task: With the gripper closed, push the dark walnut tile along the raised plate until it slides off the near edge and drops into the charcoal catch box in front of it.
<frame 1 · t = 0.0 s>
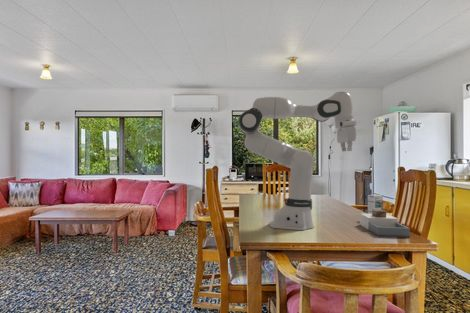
hand: (346, 151, 159), 39 cm above the table, tool pointing down, fingers open, 8 cm apart
walnut tile: (379, 216, 159), point 6 cm above the table, touching raised plate
syrup box: (374, 220, 179), on the table
raised plate: (378, 227, 160), on the table
catch box: (388, 233, 148), on the table
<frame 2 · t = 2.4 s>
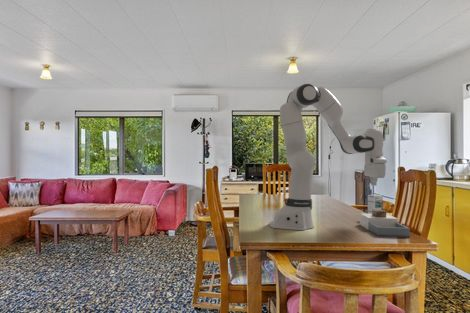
hand: (373, 185, 167), 21 cm above the table, tool pointing down, fingers closed
nothing on the table moved.
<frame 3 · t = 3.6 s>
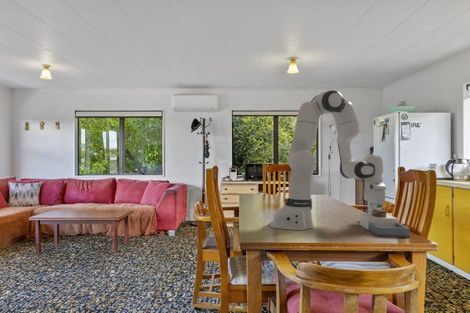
hand: (373, 210, 167), 7 cm above the table, tool pointing down, fingers closed
nothing on the table moved.
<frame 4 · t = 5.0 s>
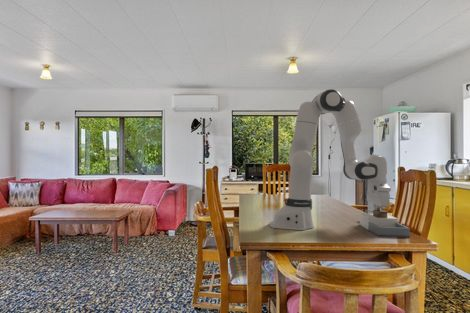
hand: (376, 213, 162), 7 cm above the table, tool pointing down, fingers closed
walnut tile: (380, 216, 158), point 6 cm above the table, touching gripper, raised plate
everything else where it was.
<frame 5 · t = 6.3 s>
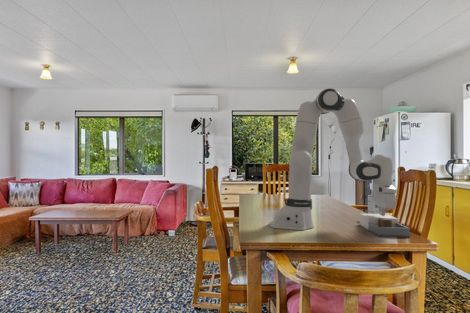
hand: (382, 215, 155), 7 cm above the table, tool pointing down, fingers closed
walnut tile: (383, 223, 153), point 3 cm above the table, tilted 90°, touching catch box
everything else where it was.
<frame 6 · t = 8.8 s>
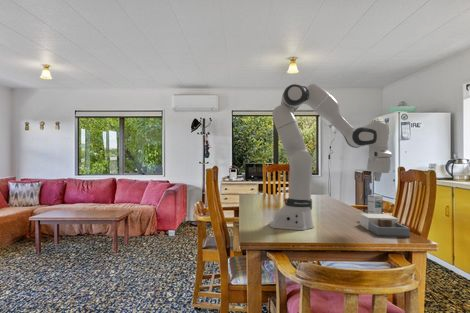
hand: (377, 181, 157), 24 cm above the table, tool pointing down, fingers closed
nothing on the table moved.
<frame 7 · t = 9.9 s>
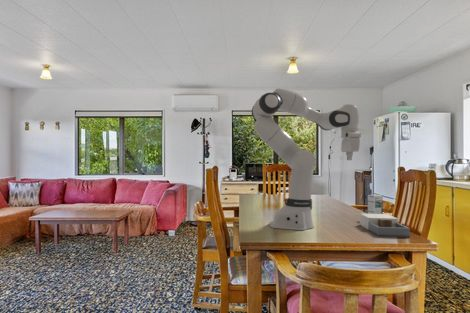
hand: (349, 160, 170), 34 cm above the table, tool pointing down, fingers closed
nothing on the table moved.
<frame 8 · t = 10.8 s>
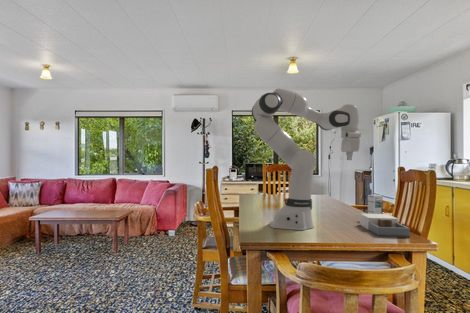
hand: (349, 160, 170), 34 cm above the table, tool pointing down, fingers closed
nothing on the table moved.
at the end: walnut tile inside the target area on the catch box (5.4 cm from its centre), point 3.3 cm above the catch box's base; walnut tile moved 6.0 cm from its start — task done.
